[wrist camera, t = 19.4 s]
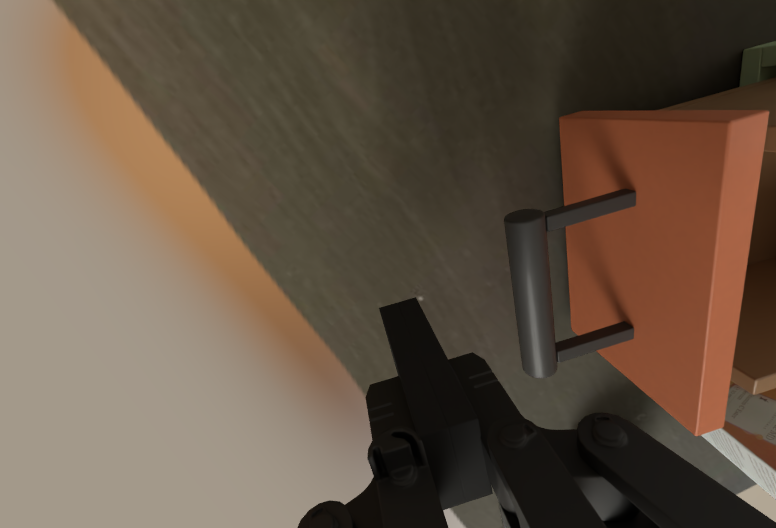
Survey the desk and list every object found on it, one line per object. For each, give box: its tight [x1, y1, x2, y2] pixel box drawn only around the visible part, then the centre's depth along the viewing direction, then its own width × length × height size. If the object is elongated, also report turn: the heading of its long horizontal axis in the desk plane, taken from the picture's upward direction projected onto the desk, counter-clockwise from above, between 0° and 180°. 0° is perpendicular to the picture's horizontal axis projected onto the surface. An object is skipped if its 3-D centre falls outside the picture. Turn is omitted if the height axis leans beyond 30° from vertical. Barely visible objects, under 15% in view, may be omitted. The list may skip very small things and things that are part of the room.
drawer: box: [504, 77, 776, 436], centre depth 16 cm, size 18×12×8 cm, turn 104°
